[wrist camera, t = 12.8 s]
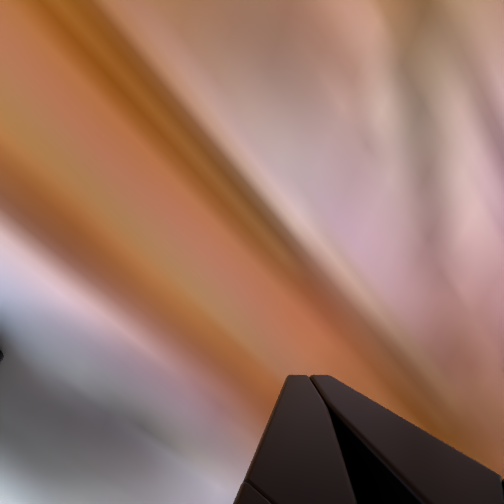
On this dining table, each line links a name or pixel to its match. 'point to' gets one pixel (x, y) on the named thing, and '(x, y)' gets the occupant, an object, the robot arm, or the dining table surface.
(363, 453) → the robot arm
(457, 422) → the dining table surface
